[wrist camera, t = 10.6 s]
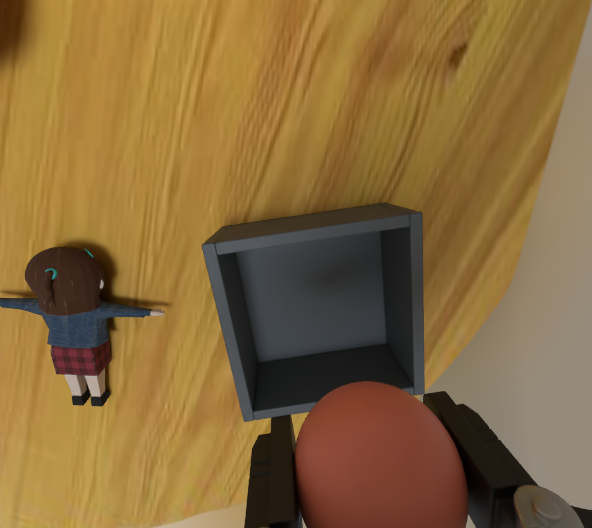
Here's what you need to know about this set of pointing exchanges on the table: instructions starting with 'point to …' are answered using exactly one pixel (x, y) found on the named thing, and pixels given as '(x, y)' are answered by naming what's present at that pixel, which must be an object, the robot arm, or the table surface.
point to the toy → (74, 317)
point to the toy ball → (377, 463)
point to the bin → (319, 304)
